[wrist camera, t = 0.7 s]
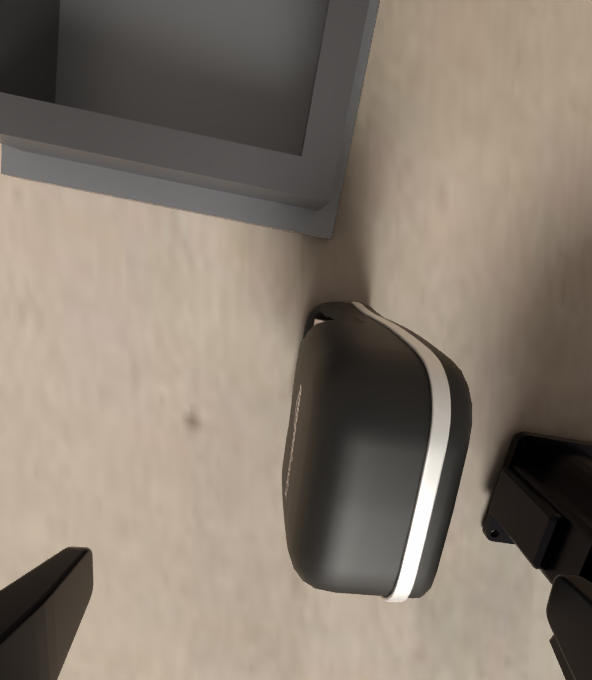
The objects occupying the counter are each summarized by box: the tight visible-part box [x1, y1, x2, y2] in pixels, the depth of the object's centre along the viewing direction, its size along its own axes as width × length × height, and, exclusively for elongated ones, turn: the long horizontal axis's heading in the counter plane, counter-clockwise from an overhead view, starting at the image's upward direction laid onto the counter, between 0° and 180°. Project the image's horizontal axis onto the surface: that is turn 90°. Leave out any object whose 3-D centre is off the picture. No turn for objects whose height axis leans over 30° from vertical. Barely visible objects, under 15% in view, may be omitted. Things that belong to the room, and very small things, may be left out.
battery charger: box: [282, 302, 472, 602], centre depth 15 cm, size 7×4×11 cm, turn 173°
